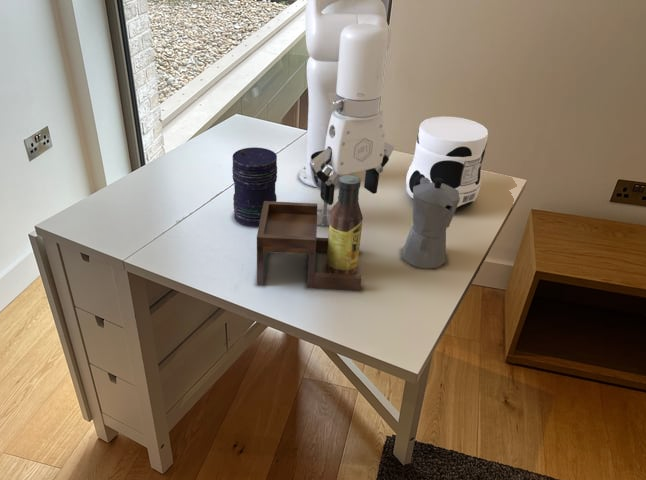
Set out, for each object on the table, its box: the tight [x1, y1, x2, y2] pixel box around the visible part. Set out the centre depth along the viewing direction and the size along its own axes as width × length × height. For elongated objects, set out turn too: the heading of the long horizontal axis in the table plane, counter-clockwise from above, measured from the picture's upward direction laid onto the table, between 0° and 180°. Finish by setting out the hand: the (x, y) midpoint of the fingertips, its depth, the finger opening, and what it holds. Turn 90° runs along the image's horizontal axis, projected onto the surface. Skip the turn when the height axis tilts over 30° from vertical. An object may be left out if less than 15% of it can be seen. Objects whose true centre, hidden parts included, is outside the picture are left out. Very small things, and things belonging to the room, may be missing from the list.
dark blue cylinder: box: [231, 146, 278, 228], centre depth 131 cm, size 10×10×15 cm
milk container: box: [405, 115, 489, 211], centre depth 138 cm, size 17×17×18 cm
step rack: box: [256, 201, 362, 292], centre depth 116 cm, size 20×14×11 cm
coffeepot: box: [402, 174, 460, 270], centre depth 118 cm, size 15×9×18 cm, turn 13°
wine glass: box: [310, 150, 345, 227], centre depth 131 cm, size 8×8×15 cm
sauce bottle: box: [326, 174, 364, 274], centre depth 113 cm, size 6×6×20 cm
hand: (348, 196), depth 109 cm, fingers open, 9 cm apart
